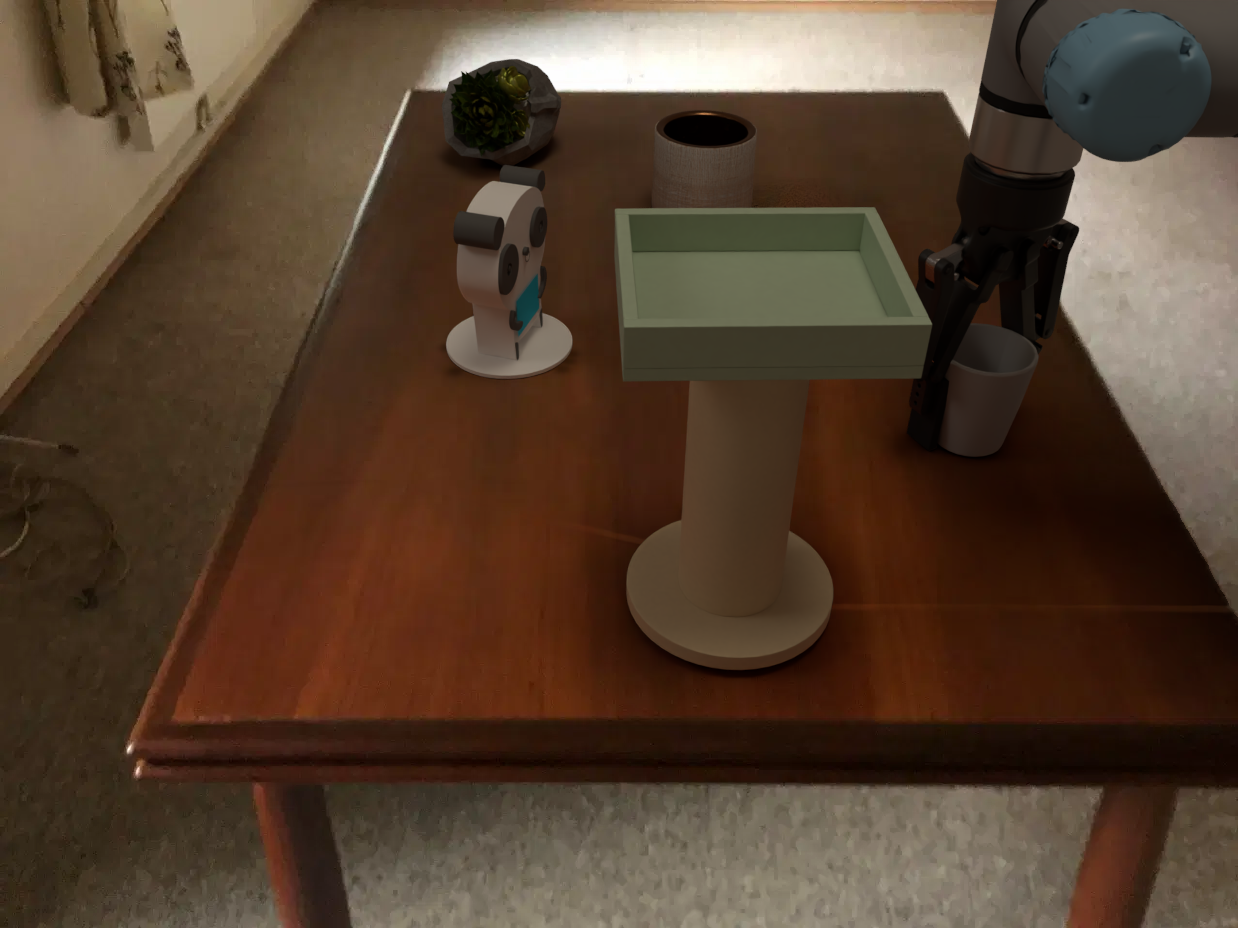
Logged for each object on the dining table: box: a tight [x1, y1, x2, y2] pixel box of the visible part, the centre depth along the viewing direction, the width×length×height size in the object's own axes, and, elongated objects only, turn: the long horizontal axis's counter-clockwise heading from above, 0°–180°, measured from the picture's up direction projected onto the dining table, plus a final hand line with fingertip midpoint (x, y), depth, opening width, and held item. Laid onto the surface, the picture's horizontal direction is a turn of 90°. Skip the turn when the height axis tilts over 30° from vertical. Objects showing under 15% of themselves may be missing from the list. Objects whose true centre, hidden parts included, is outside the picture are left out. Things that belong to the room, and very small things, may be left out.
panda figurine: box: [445, 165, 573, 380], centre depth 98 cm, size 12×11×15 cm
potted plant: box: [441, 58, 562, 167], centre depth 132 cm, size 12×13×15 cm
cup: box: [937, 322, 1040, 458], centre depth 91 cm, size 8×10×8 cm
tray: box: [613, 206, 932, 671], centre depth 70 cm, size 16×14×25 cm
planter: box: [650, 109, 758, 208], centre depth 122 cm, size 11×11×10 cm
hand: (956, 427), depth 93 cm, fingers closed on cup, 7 cm apart
